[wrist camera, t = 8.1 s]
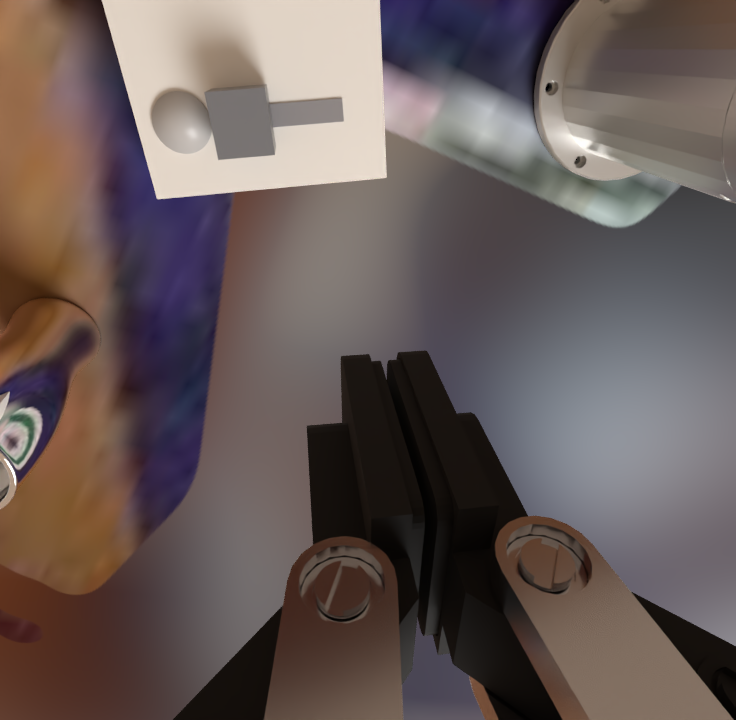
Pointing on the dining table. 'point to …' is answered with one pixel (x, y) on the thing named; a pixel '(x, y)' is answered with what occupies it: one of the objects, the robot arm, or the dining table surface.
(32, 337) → the beer glass
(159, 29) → the switch panel
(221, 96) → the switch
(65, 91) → the dining table surface
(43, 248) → the dining table surface
